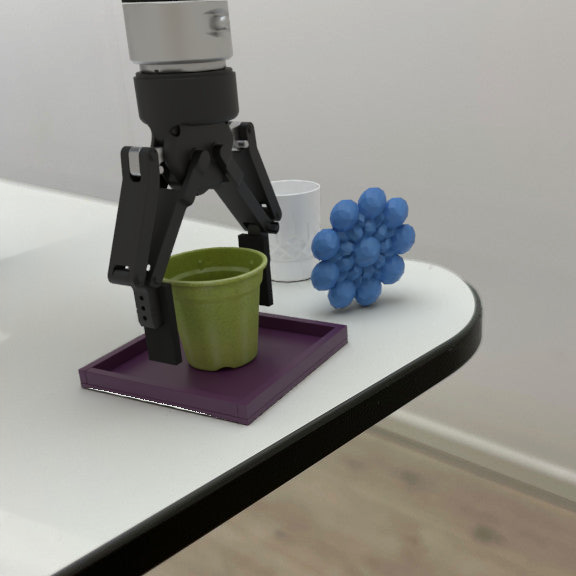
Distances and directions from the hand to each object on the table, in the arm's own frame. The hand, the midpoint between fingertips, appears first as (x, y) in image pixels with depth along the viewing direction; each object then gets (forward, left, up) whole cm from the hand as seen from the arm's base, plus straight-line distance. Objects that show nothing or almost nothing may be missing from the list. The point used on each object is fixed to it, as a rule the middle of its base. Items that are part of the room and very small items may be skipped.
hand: (216, 330), depth 66 cm
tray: (0, 0, -3) cm, 3 cm away
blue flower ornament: (+5, +18, -3) cm, 19 cm away
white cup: (-7, +24, -3) cm, 25 cm away
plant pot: (0, 0, -3) cm, 3 cm away
